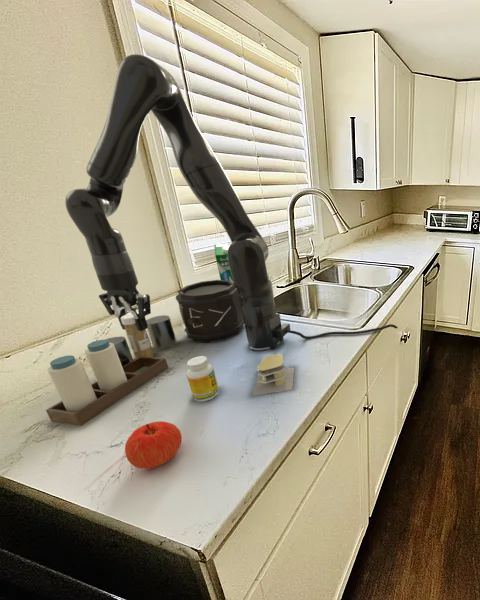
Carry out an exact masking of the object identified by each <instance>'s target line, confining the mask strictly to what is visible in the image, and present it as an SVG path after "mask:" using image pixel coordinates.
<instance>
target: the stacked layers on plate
mask: <svg viewBox="0 0 480 600" xmlns="http://www.w3.org/2000/svg"><path fill="white" fill-rule="evenodd" d="M256 369H257V370H258V372H257V378H256V381H255V385H254V388H253V392H252V397H254V396H260V395H261V396H262V395H266V394H273V393H278V392H285V391H292V390H293V384H294V383H293V382H294V369H295V368H294V367H288V368H285V364H284V358H283V354H282V353H279V354H278V353H277V354H269V355H265V357H264V358H263V359H262V360H261V362H259V364H258V365H257V367H256Z"/></svg>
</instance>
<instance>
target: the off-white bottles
mask: <svg viewBox="0 0 480 600" xmlns="http://www.w3.org/2000/svg"><path fill="white" fill-rule="evenodd" d="M86 347H87V349H85V351H84V353H85V357H86V358H87V360H88V363H89V366H90V368H91V371H92V372H93V375H94V378H95V380H96V381H97V382H98V385H99V387H100V390H106V391H111V390H113V389H114V388H116V387H118V386H119V385H121V384H123V383H124V382H126V381H127V378H126V375H125V373H124V370H123V367H122V365H121V362H120V360H119V357H118V354H117V352H116V349H115V346H114V344H113V343H109V342H108V340H105V339H99V340H95V341H92V342H89V343H88V344H87V346H86ZM49 365H50V366H48V368H47V372H48V374H49V376H50V379H51V382H52V383H53V384H54V388H55V389H56V392H57V393H58V396H59V398H60V400H61V401H62V402H63V404H64V406H65V408H66V410H67V411H71V412H77V411H79V410H80V409H82V408H84V407H85V406H87V405H89V404H90V403H92V402H93V401H95V400H97V397H96V395H95V392H94V390H93V388H92V385H91V384H92V383H91V381H90V379H89V376H88V373H87V372H86V369H85V367H84V364H83V362H82V360H81V359H80V358H75V356H74V355H71V354H69V355H63V356H60V357H57V358H55V359H53V360H51V361H50V362H49Z"/></svg>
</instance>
